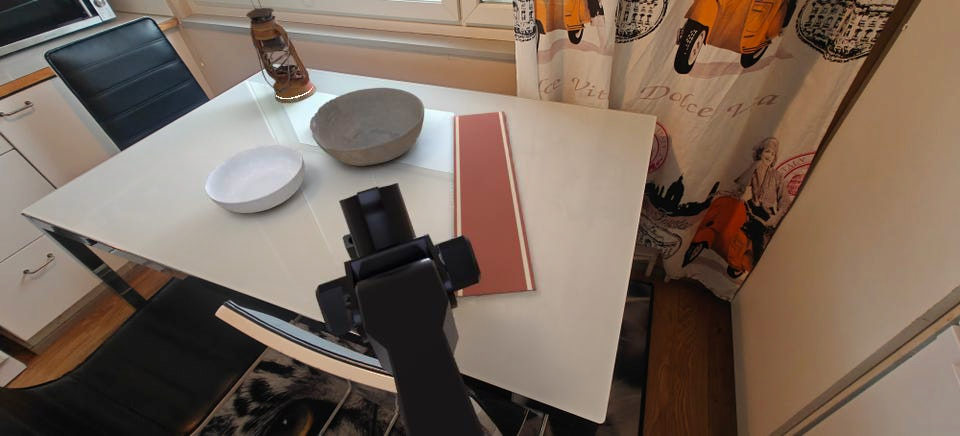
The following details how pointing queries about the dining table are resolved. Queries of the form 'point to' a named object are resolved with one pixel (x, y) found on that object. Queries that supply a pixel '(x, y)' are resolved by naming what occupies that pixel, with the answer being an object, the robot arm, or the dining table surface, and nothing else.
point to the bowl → (368, 125)
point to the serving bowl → (256, 178)
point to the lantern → (289, 76)
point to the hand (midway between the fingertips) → (400, 277)
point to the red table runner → (489, 205)
